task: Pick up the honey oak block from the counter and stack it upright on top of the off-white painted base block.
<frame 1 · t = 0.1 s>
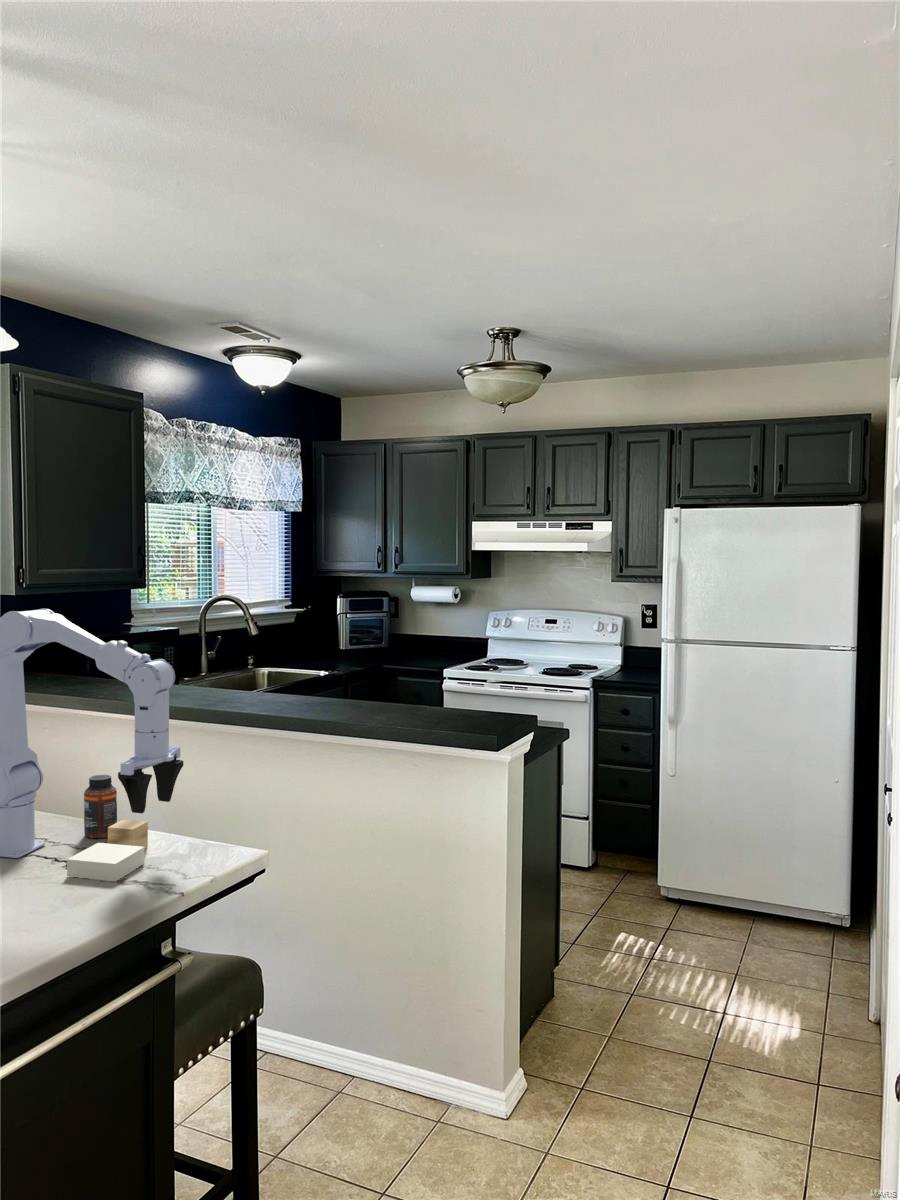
hand: (151, 806, 158), 10 cm above the counter, tool pointing down, fingers open, 7 cm apart
oak block: (128, 851, 165), on the counter
base block: (106, 870, 155), on the counter
supplement bottle: (100, 835, 174), on the counter
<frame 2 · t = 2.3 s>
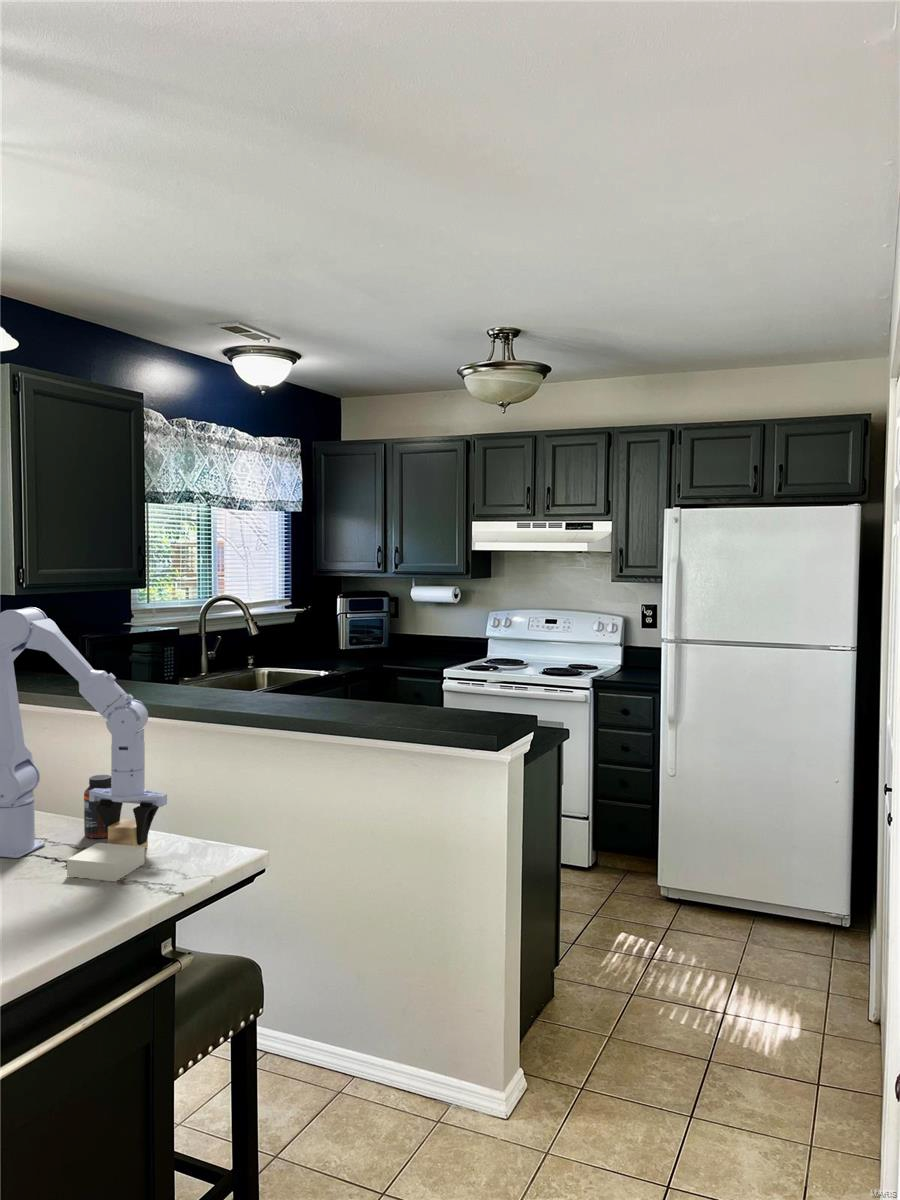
hand: (128, 841, 165), 2 cm above the counter, tool pointing down, fingers closed on oak block, 5 cm apart
oak block: (128, 850, 165), on the counter, touching gripper
everything else where it was.
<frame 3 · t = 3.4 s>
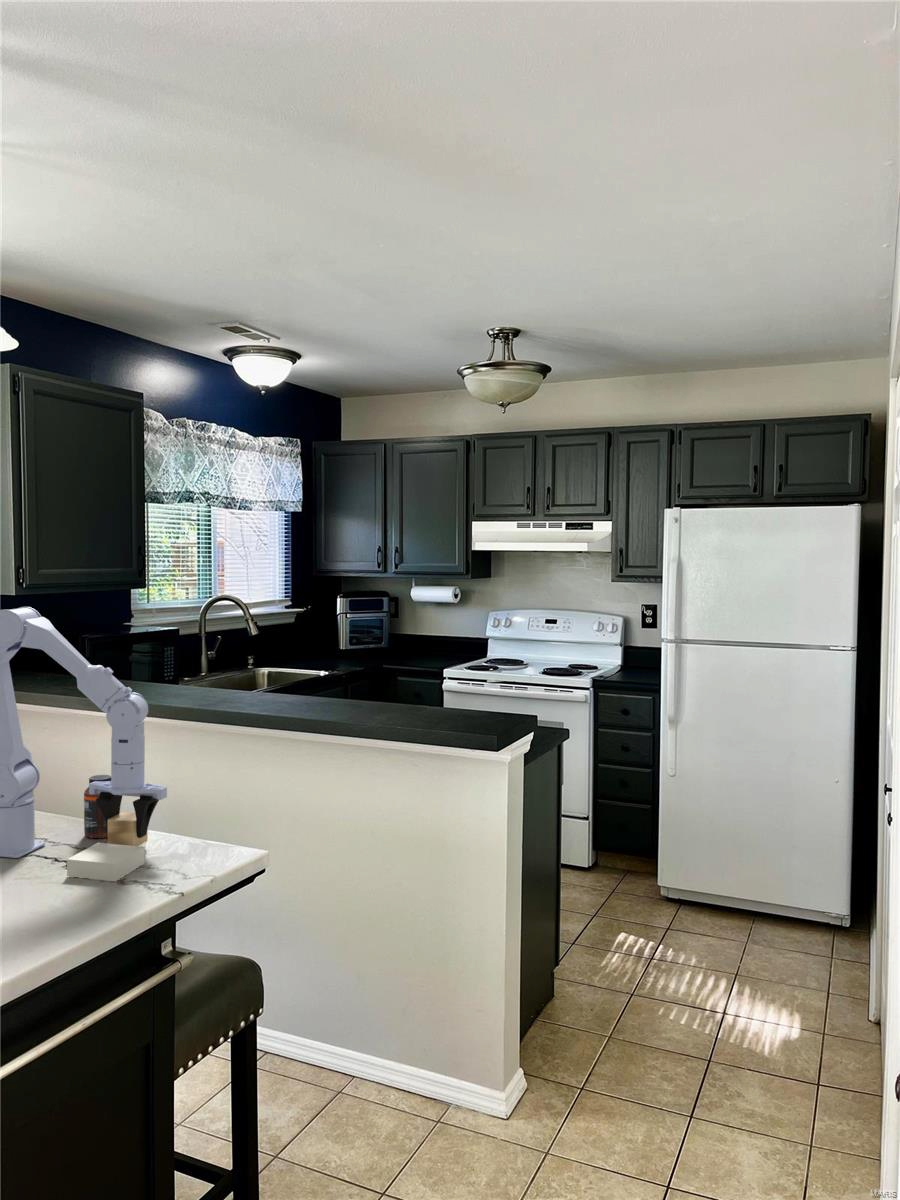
hand: (127, 834, 165), 3 cm above the counter, tool pointing down, fingers closed on oak block, 5 cm apart
oak block: (127, 843, 165), point 1 cm above the counter, touching gripper
everything else where it was.
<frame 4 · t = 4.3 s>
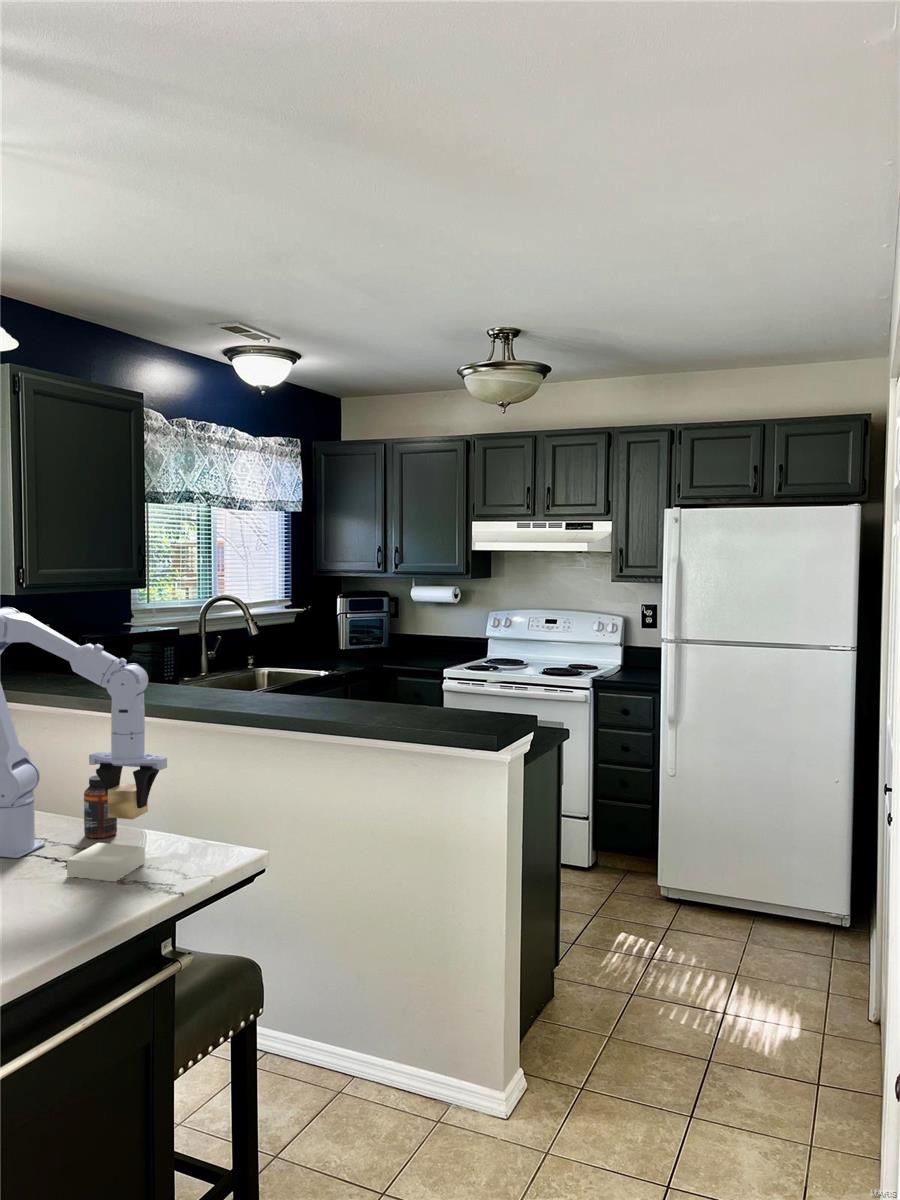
hand: (127, 805, 164), 8 cm above the counter, tool pointing down, fingers closed on oak block, 5 cm apart
oak block: (127, 814, 164), point 7 cm above the counter, touching gripper
everything else where it was.
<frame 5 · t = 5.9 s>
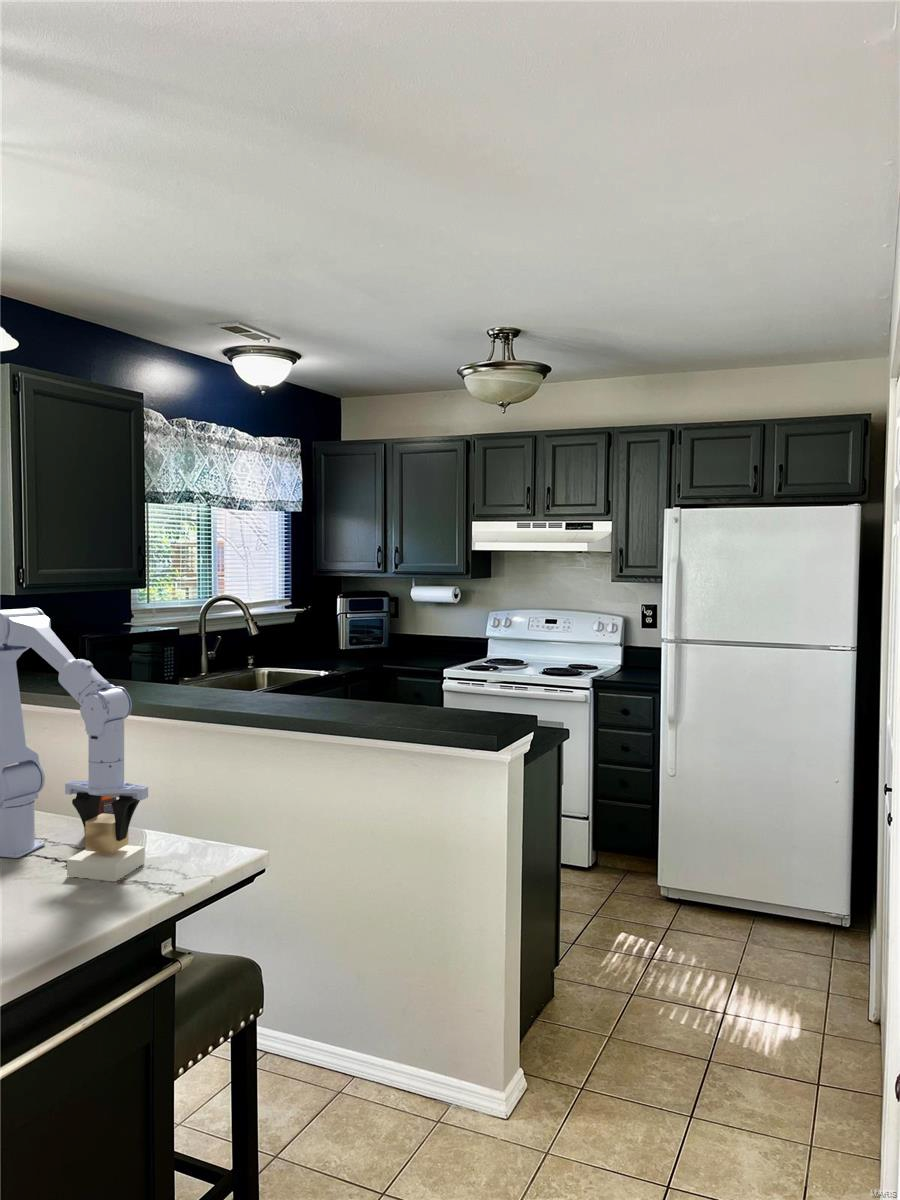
hand: (106, 837, 154), 6 cm above the counter, tool pointing down, fingers closed on oak block, 5 cm apart
oak block: (107, 847, 155), point 4 cm above the counter, touching gripper
everything else where it was.
when the fingers open (6 cm above the counter, at t = 6.7 s): oak block stays where it is, resting on base block.
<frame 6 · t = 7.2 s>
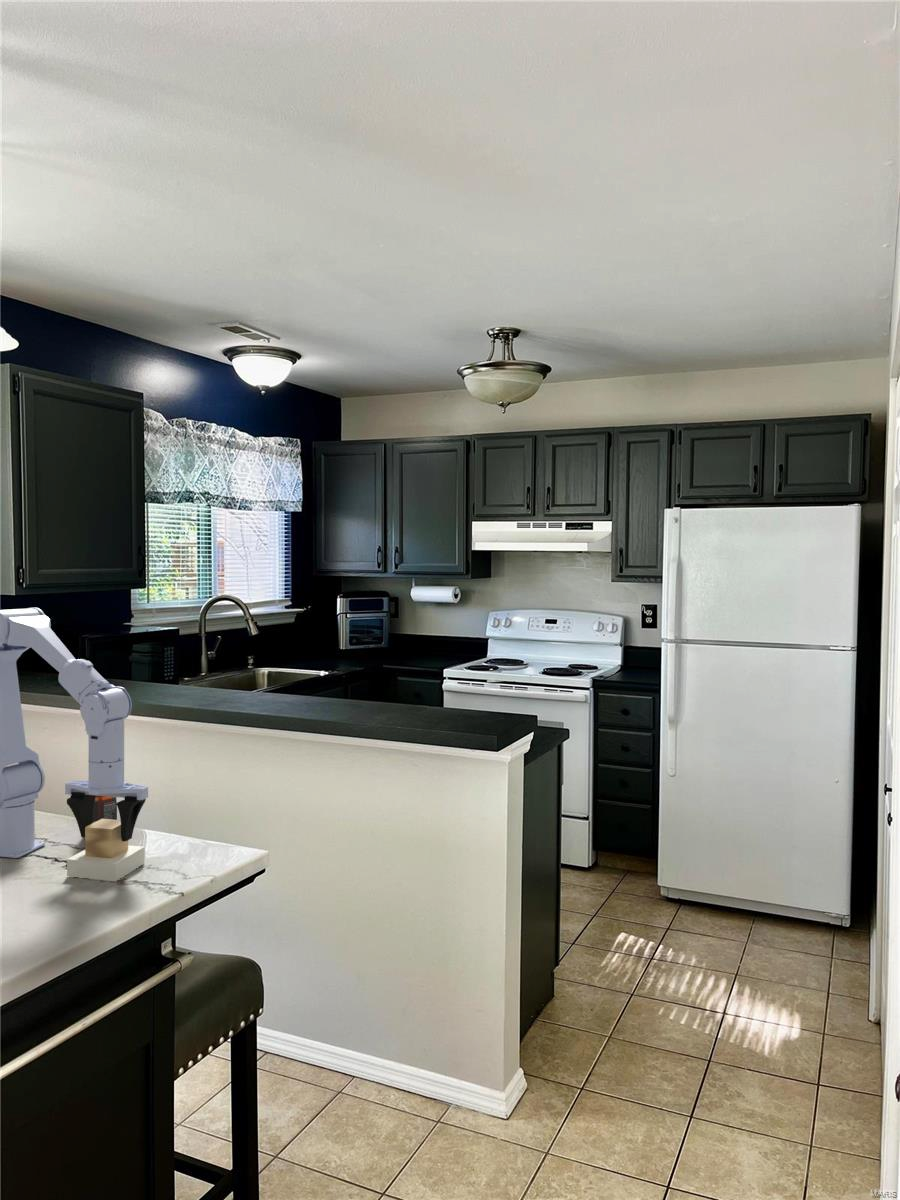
hand: (106, 837, 154), 6 cm above the counter, tool pointing down, fingers open, 7 cm apart
oak block: (107, 852, 155), point 3 cm above the counter, touching base block
everything else where it was.
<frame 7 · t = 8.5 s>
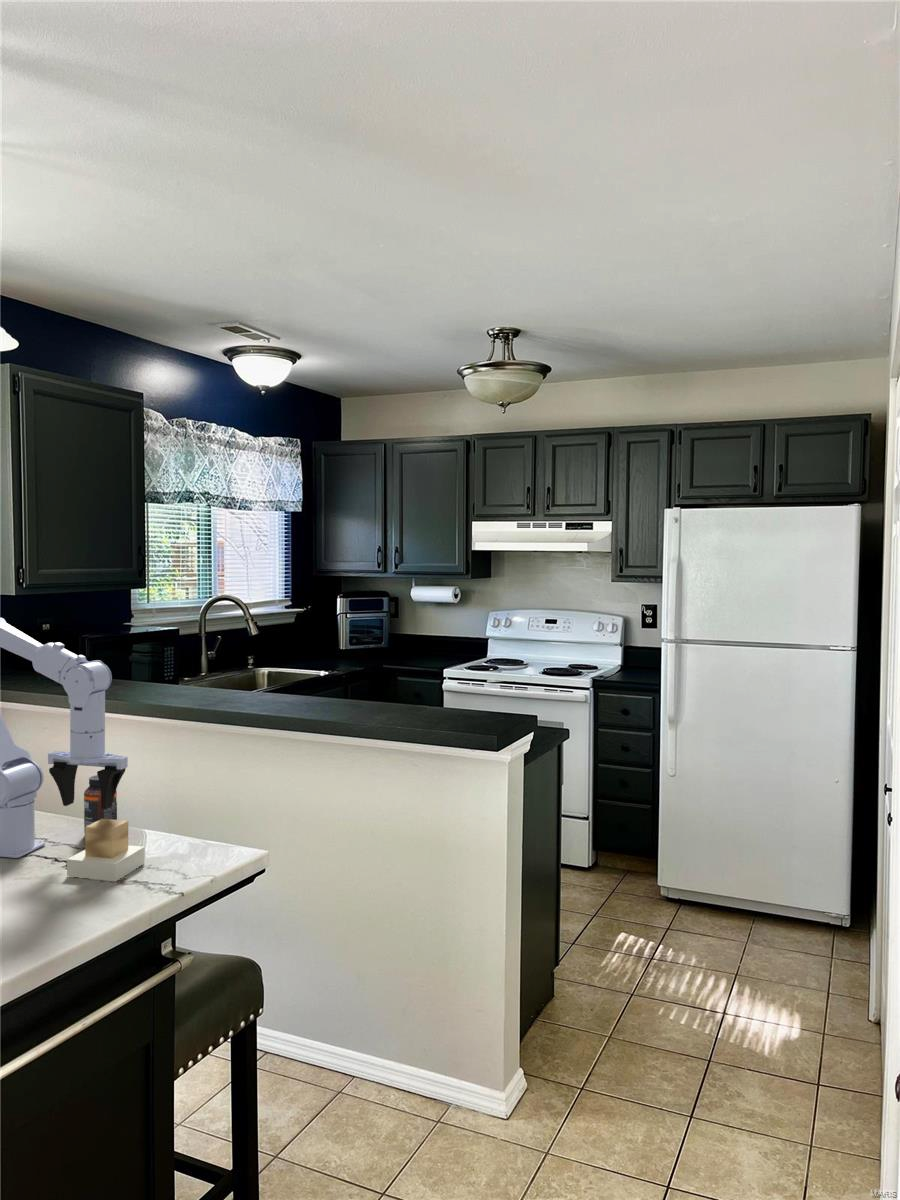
hand: (87, 806, 160), 9 cm above the counter, tool pointing down, fingers open, 7 cm apart
nothing on the counter moved.
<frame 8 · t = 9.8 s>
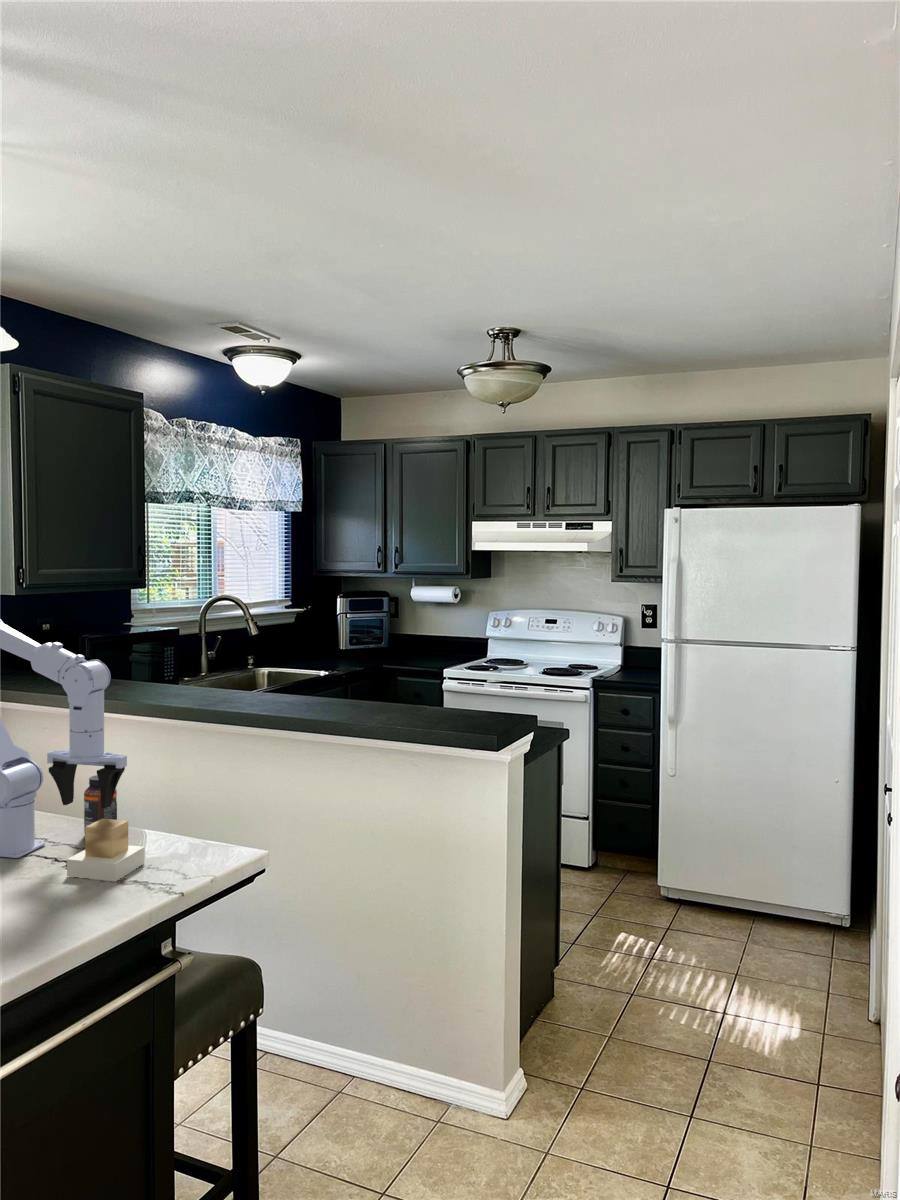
hand: (87, 805, 160), 9 cm above the counter, tool pointing down, fingers open, 7 cm apart
nothing on the counter moved.
at the end: oak block 0.2 cm off-centre on the base block, point 3.0 cm above the base block's base; oak block tilted 0°; the gripper is holding nothing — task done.
